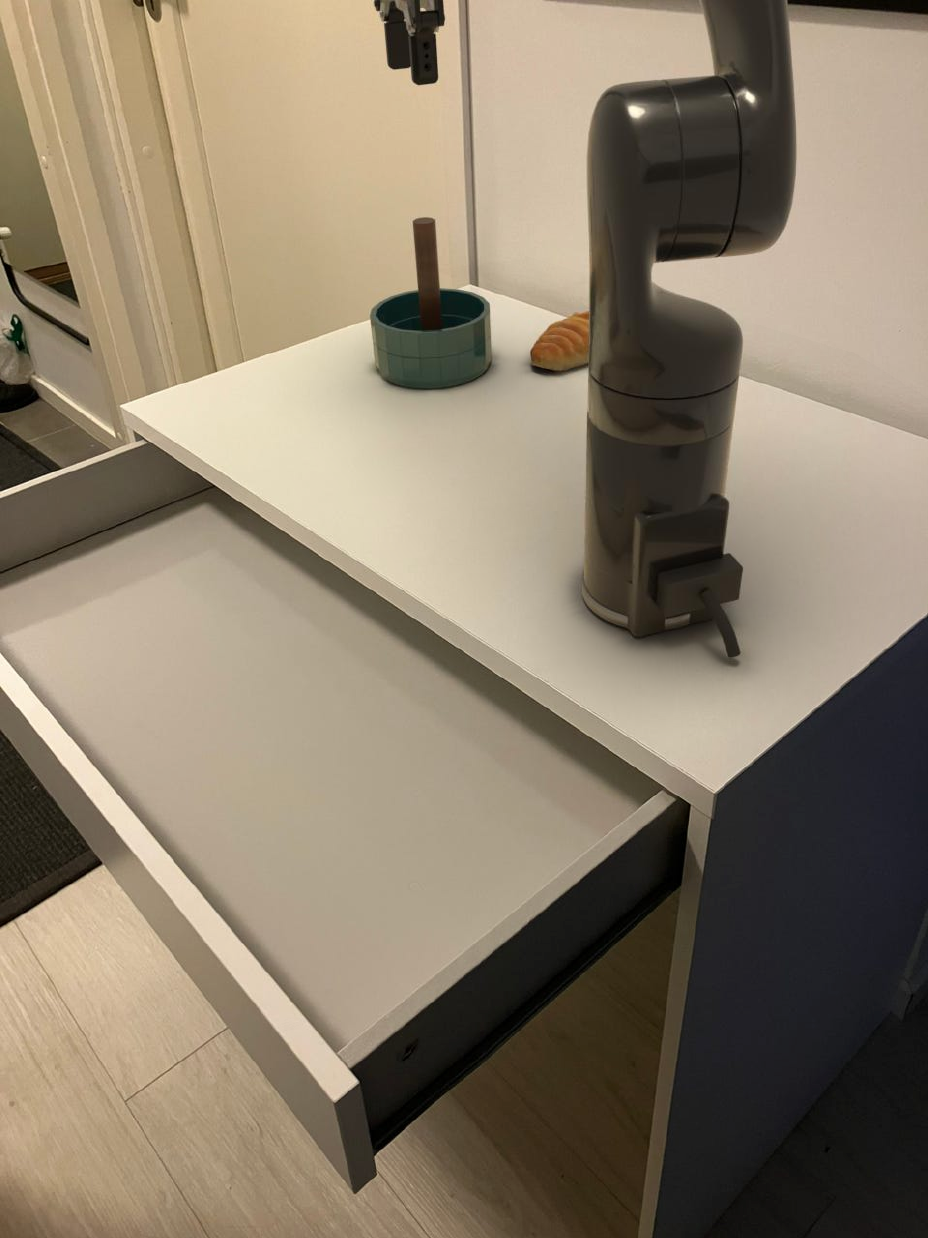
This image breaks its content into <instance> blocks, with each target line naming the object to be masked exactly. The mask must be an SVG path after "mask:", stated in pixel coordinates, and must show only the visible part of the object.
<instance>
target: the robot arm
mask: <svg viewBox="0 0 928 1238" xmlns="http://www.w3.org/2000/svg"><path fill="white" fill-rule="evenodd" d="M698 1H699V4H700V6H701V11H702V15H703V19H704V22H705V27H706V31H707V36H708V40H709V47H710V48H709V49H710V53H711V61H712V69H713V75H704V76H691V77H690V76H688V77H676V78H664V79H651V80H640V81H629V82H623V83H618V84H613V85H612V86H609V87H608V88H607V89H605V90H604V91H603V92H602V94H601V95H600V97H599V98H598V99H597V101H596V103H595V106H594V108H593V112H592V114H591V118H590V123H589V129H588V133H587V145H586V146H587V148H586V203H587V228H588V230H587V231H588V263H589V265H588V269H589V274H588V275H589V278H588V281H589V282H588V285H589V286H588V288H589V289H588V311H589V363H588V371H587V409H586V410H587V412H586V442H585V443H586V447H585V448H586V449H585V483H584V484H585V485H584V487H585V489H584V493H585V494H584V526H583V527H584V528H583V529H584V531H583V572H582V575H581V595H582V598H583V601H584V602H585V604H586V606H587V607H588V609H590V610H591V611H592V612H593V613H594V614H595V615H597V616H598V617H599V618H601V619H604V620H605V621H607V622H608V623H611V624H613V625H616V626H619V627H622V628H626V629H627V630H628V631H629V632H630V633H631V634H632V635H633V636H634V637H636V638H640V637H645V636H649V635H652V634H653V635H654V634H657V633H662V632H665V631H669V630H674V629H678V628H683V627H686V626H690V625H693V624H698V623H701V622H707V621H709V620H713V622H714V624H715V625H716V627H717V629H718V631H719V633H720V635H721V638H722V641H723V644H724V647H725V651H726V655H727V657H728V658H730V659H732V658H737V657H738V656H740V655H741V650H740V646H739V643H738V642H739V641H738V638H737V635H736V632H735V630H734V627H733V625H732V623H731V621H730V619H729V617H728V615H727V613H726V612H725V610H724V609H723V607H722V605H723V604H726V603H731V602H734V601H738V600H739V599H740V593H741V586H742V578H743V571H744V566H743V565H742V564H741V563H740V562H739V561H738V560H737V559H736V558H735V557H734V555H732V553H730V552H728V553H725V547H726V538H727V530H728V522H729V515H730V506H731V505H730V501H729V500H728V499H727V498H726V497H725V496H726V488H727V487H726V486H727V478H728V471H729V461H730V455H731V454H730V453H731V447H732V446H731V445H732V437H733V430H734V429H733V428H734V419H735V413H736V406H737V405H736V404H737V397H738V389H739V380H740V373H741V367H742V366H741V365H742V357H743V348H744V347H743V346H744V338H743V337H744V336H743V331H742V328H741V326H740V324H739V323H738V321H737V320H736V319H735V318H734V316H732V314H731V315H730V313H728V312H727V311H725V310H723V309H722V308H720V307H718V306H716V305H713V304H712V303H709V302H705V301H703V300H700V299H697V298H696V299H695V298H694V297H688V296H685V295H682V294H678V293H675V292H673V291H670V290H667V289H666V288H663V287H661V286H659V285H658V284H656V283H655V282H654V281H653V279H652V271H653V267H654V264H660V263H671V262H682V261H694V260H707V259H708V260H709V259H716V258H728V257H736V256H737V257H738V256H747V255H754V254H759V253H762V252H764V251H767V250H769V249H770V248H772V247H773V246H774V245H775V244H776V243H777V242H778V240H780V237H781V236H782V234H783V232H784V230H785V229H786V227H787V223H788V221H789V217H790V214H791V210H792V206H793V201H794V195H795V187H796V178H797V177H796V176H797V157H798V155H797V154H798V153H797V152H798V151H797V147H798V146H797V145H798V143H797V120H796V119H797V117H796V101H795V100H796V99H795V84H794V72H793V71H794V70H793V59H792V58H793V57H792V56H793V55H792V46H791V33H790V20H789V8H788V7H789V5H788V4H789V3H788V0H698ZM373 6H374V8H375V11H376V12H379V13H378V14H379V18H380V20H381V22H382V23H383V29H384V30H383V31H384V41H385V52H386V61H387V62H386V63H387V66H388V68H389V69H391V70H394V71H397V70H404V69H405V70H406V69H409V68H410V77H411V78H410V79H411V82H412V83H413V84H415V85H416V86H425V85H434V84H436V83H437V82H438V81H439V65H438V64H439V63H438V47H437V34H436V33H439V30H440V27H444V26H445V21H446V15H445V5H444V0H374V1H373ZM421 9H424V10H421ZM721 604H722V605H721Z"/></svg>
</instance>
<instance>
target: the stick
mask: <svg viewBox="0 0 928 1238" xmlns="http://www.w3.org/2000/svg"><path fill="white" fill-rule="evenodd" d="M436 227H437V226H436V219H435V218H433V217H428V216H425V217H424V216H423V217H418V218H415V219H413V220H412V233H413V244H414V246H413V247H414V256H415V269H416V271H415V272H416V282H417V290H418V296H419V308H420V320H421V331H430V330H441V329H443V328H442V314H441V299H440V287H441V286H440V270H439V256H438V241H437V228H436Z"/></svg>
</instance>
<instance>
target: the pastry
mask: <svg viewBox="0 0 928 1238" xmlns="http://www.w3.org/2000/svg"><path fill="white" fill-rule="evenodd" d="M529 354H530V355H529V356H530V363H531V366H535V367H538V368H541V369H547V370H551V371H558V372H560V373H561V372H562V371H564V372H565V371H569V370H570V369H573V368H580V367H582V366H585V365H586V364H588V365H589V310H588V311H583V312H577V311H576V312H574V313H573V314H572V315H571V316H568V317H567V318H564V319H562V320H558V321H554V322H553V323H551V324H550V325H549V326H548V327H547V328H546V330H544V331H543V333H542V334H541V335H539V337H538V339H536V341H535V342H534V344H533V346H532V347H531V349H530V351H529Z"/></svg>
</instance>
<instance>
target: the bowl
mask: <svg viewBox="0 0 928 1238" xmlns="http://www.w3.org/2000/svg"><path fill="white" fill-rule="evenodd" d="M440 299H441V314H442V328H443V329H441V330H430V331H421V320H420V308H419V296H418V289H414V290H407V291H404V292H401V293H398V294H395V295H394V294H393V295H391V296H389V297H387V298H385V299H383V300H381V301H379V302H378V303H376V304H375V306H373V307H372V308H371V311H370V315H369V318H370V328H371V337H372V338H371V339H372V346H373V354H374V364H375V366H376V367H377V370H378V371H379V373H380V375H381V376H382V377H383V379H385V380H386V381H388V382H390V383H391V384H394V385H398V386H399V387H400V386H401V387H405V388H412V389H426V390H429V389H430V390H431V389H442V388H449V387H455V386H459V385H462V384H465V383H469V382H471V381H473V380H475V379H478V378H479V377H480V376H482V375H483V374H484V373H485V372H486V371H487V370H488V368H489V366H490V362H491V361H492V360H493V352H492V351H493V350H492V349H493V348H492V347H493V346H492V323H491V321H492V320H491V304H490V302H489V301H488V300H487V299H486V298H485V297H484V296H482V295H479V294H477V293H476V292H472V291H469V290H463V289H457V288H444V287H443V288H442V287H441V288H440Z"/></svg>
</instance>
